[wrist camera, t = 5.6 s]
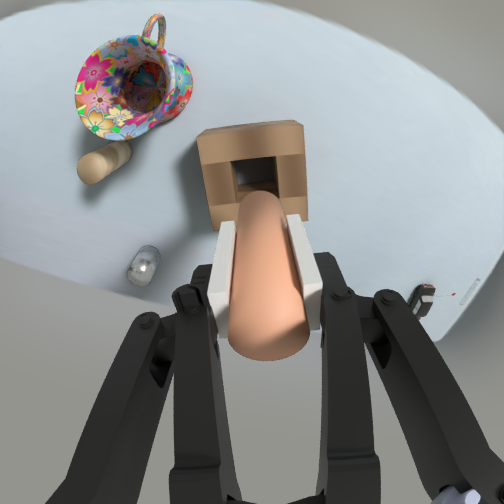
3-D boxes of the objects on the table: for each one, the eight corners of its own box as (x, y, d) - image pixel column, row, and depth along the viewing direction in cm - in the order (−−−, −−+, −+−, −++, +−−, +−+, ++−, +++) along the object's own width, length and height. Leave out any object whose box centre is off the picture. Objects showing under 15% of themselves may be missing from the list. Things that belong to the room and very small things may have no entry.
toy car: (399, 317, 46) (415, 349, 40) (425, 263, 40) (448, 293, 33) (414, 317, 47) (431, 347, 40) (441, 264, 40) (464, 293, 34)
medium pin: (112, 166, 32) (81, 187, 25) (107, 143, 30) (73, 159, 23) (134, 161, 31) (106, 181, 25) (129, 136, 30) (98, 150, 23)
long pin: (241, 232, 22) (234, 363, 12) (236, 193, 20) (220, 310, 10) (283, 228, 22) (308, 357, 11) (280, 188, 20) (311, 302, 10)
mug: (182, 134, 30) (155, 153, 21) (113, 116, 28) (65, 130, 19) (218, 39, 24) (204, 15, 15) (144, 25, 22) (103, 3, 13)
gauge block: (218, 208, 35) (213, 230, 30) (205, 129, 30) (196, 137, 25) (299, 200, 35) (308, 220, 29) (293, 119, 29) (303, 125, 24)
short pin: (143, 265, 39) (132, 286, 35) (136, 246, 38) (124, 267, 34) (163, 263, 39) (153, 285, 35) (156, 244, 38) (145, 264, 33)
